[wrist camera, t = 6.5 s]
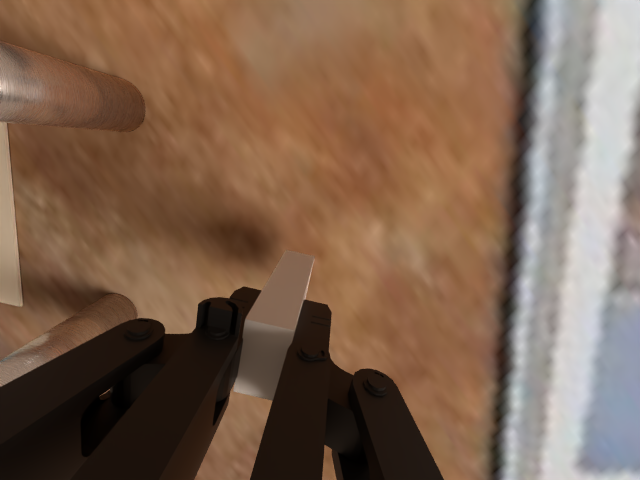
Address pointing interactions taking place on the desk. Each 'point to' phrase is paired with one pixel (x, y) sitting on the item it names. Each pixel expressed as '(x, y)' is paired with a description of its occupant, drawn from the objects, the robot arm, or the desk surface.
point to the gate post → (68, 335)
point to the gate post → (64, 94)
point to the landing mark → (8, 229)
